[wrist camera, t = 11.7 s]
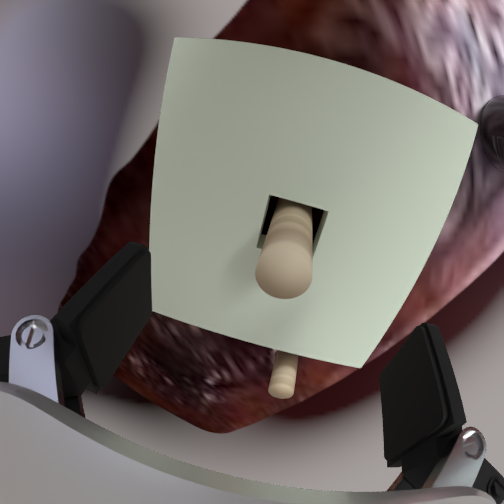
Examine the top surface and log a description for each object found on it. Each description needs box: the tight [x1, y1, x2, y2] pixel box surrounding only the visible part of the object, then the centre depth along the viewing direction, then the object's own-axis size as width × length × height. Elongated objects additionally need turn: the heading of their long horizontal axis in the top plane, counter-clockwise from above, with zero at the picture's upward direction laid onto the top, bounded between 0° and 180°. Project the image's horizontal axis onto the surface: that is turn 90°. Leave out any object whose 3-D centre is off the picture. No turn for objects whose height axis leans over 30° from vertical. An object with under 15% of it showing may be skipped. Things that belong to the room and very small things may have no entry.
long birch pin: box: [255, 197, 313, 299], centre depth 17 cm, size 2×2×11 cm
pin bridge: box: [149, 37, 478, 368], centre depth 19 cm, size 20×18×6 cm
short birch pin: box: [268, 350, 299, 398], centre depth 28 cm, size 2×2×5 cm
